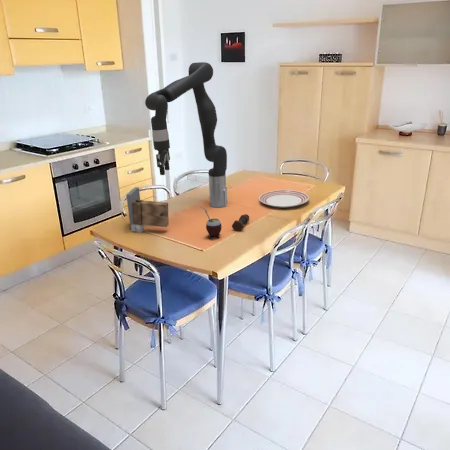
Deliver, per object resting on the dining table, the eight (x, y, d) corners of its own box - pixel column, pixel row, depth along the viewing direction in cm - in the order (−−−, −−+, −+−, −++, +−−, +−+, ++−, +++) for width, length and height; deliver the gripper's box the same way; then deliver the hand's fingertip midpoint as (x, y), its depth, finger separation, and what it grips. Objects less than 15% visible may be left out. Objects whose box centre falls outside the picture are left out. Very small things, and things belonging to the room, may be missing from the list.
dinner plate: (293, 214, 222) (293, 208, 221) (249, 205, 237) (249, 199, 236) (317, 199, 242) (317, 194, 241) (275, 192, 258) (275, 187, 256)
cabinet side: (151, 221, 219) (148, 187, 213) (142, 232, 206) (138, 196, 199) (138, 221, 220) (134, 187, 214) (128, 232, 207) (124, 196, 200)
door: (168, 224, 206) (168, 202, 202) (165, 228, 202) (165, 206, 197) (136, 220, 208) (135, 199, 204) (132, 224, 204) (131, 203, 199)
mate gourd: (225, 236, 198) (223, 205, 192) (212, 241, 192) (211, 210, 187) (213, 232, 203) (212, 202, 197) (201, 237, 197) (199, 206, 192)
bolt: (248, 224, 216) (239, 234, 203) (239, 218, 217) (230, 228, 203) (253, 215, 214) (244, 224, 200) (245, 209, 214) (235, 218, 201)
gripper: (164, 141, 193) (168, 176, 200) (172, 135, 206) (176, 168, 213) (148, 142, 194) (153, 176, 201) (157, 136, 207) (161, 168, 214)
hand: (165, 172), depth 207 cm, fingers open, 8 cm apart
